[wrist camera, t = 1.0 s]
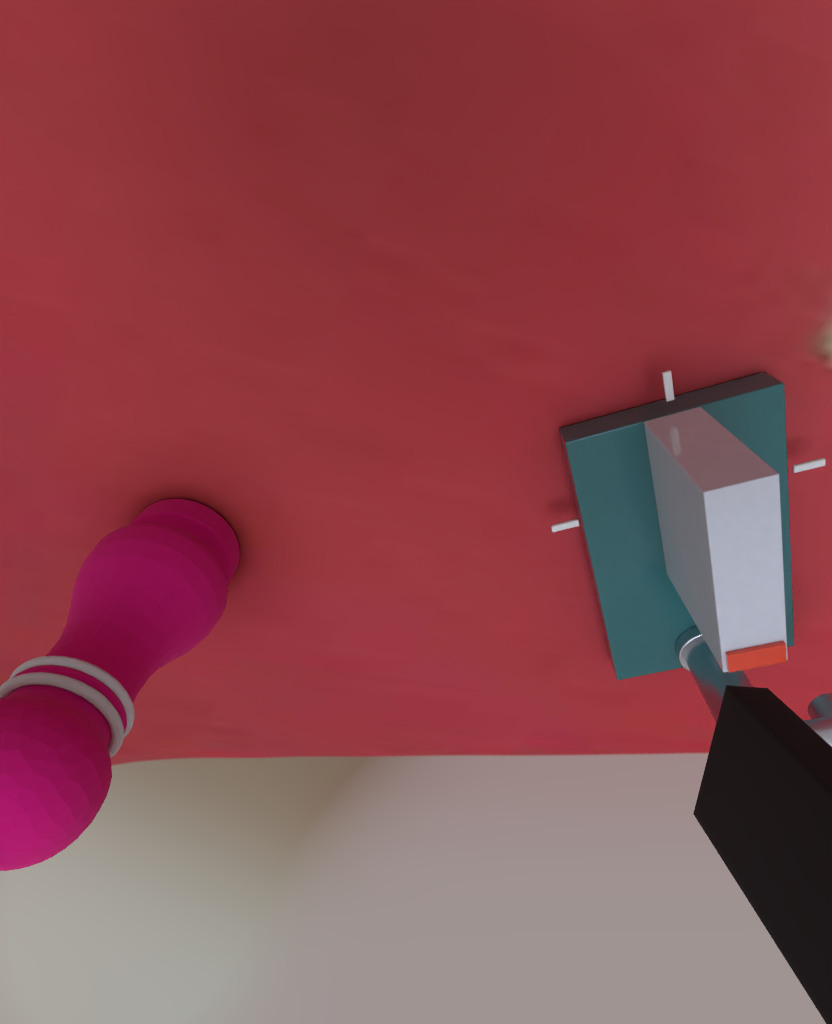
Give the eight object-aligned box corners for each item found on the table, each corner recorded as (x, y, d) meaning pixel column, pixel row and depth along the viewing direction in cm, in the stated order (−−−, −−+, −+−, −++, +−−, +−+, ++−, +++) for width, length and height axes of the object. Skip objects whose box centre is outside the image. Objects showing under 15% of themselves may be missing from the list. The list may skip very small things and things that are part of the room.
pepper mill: (183, 465, 33) (-125, 788, 15) (274, 556, 35) (103, 922, 18) (100, 532, 35) (-249, 880, 17) (192, 613, 38) (-32, 987, 20)
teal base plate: (518, 399, 30) (522, 413, 28) (798, 317, 28) (824, 327, 26) (584, 663, 38) (591, 688, 36) (806, 617, 36) (826, 642, 34)
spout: (677, 668, 35) (734, 788, 28) (671, 630, 34) (730, 745, 27) (789, 647, 34) (878, 765, 27) (787, 606, 33) (880, 720, 26)
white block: (643, 421, 28) (705, 495, 21) (700, 406, 28) (783, 476, 21) (666, 574, 32) (725, 677, 25) (717, 562, 32) (791, 664, 25)
